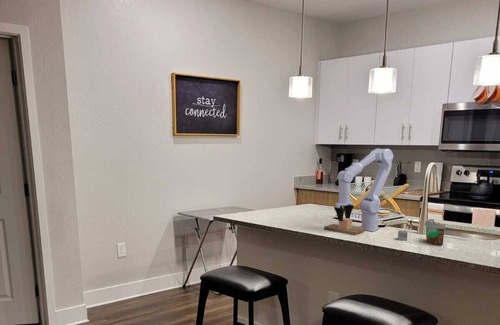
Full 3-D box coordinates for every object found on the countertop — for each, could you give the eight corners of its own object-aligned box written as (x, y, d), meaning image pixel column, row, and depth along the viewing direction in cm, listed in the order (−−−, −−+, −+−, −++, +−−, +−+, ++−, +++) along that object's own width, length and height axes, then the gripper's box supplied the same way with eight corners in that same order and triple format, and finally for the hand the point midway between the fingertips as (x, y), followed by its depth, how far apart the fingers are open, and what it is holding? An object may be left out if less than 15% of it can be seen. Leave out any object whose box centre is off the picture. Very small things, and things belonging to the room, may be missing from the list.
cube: (343, 226, 202) (343, 217, 202) (351, 228, 199) (352, 218, 198) (338, 228, 198) (338, 218, 198) (347, 229, 195) (347, 220, 195)
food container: (419, 239, 185) (420, 218, 184) (432, 239, 184) (433, 219, 184) (430, 246, 172) (431, 224, 172) (444, 246, 172) (445, 224, 172)
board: (333, 226, 209) (333, 223, 209) (364, 232, 197) (364, 229, 197) (323, 229, 202) (324, 226, 202) (355, 235, 190) (355, 232, 190)
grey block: (397, 238, 186) (398, 230, 186) (406, 239, 184) (407, 231, 184) (398, 240, 182) (398, 232, 182) (407, 241, 181) (407, 232, 180)
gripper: (344, 196, 190) (344, 223, 191) (358, 193, 201) (357, 218, 201) (332, 194, 195) (331, 221, 196) (346, 192, 205) (345, 216, 206)
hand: (343, 219), depth 199 cm, fingers open, 7 cm apart
